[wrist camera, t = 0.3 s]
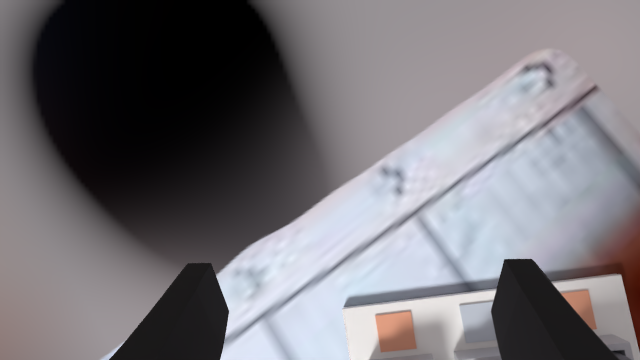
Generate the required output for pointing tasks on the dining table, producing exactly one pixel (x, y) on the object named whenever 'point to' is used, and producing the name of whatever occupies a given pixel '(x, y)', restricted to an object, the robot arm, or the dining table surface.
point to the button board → (477, 323)
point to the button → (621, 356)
